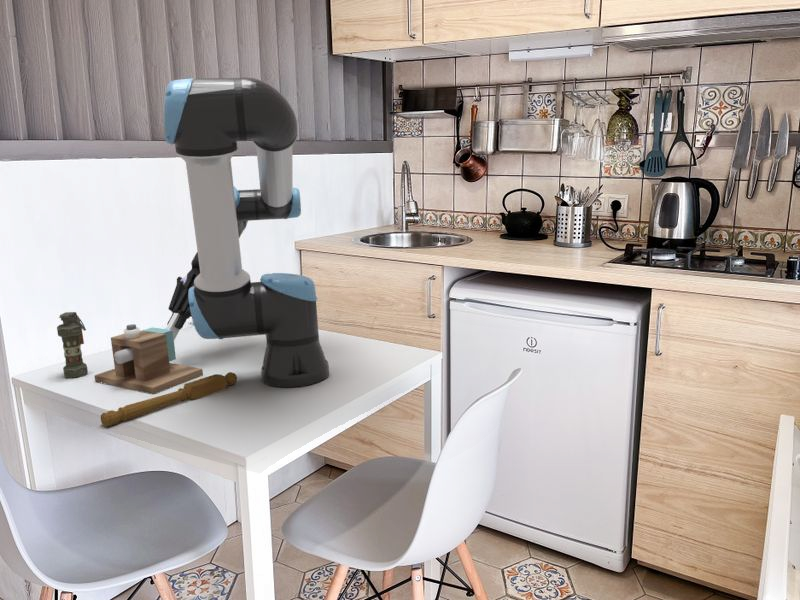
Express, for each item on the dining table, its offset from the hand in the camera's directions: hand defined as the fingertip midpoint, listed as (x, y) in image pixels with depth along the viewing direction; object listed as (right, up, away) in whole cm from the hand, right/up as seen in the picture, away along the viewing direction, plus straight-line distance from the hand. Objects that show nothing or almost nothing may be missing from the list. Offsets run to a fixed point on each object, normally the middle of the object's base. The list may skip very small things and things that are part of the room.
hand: (167, 339), depth 159 cm
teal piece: (-3, -6, -6) cm, 9 cm away
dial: (-5, +1, -9) cm, 10 cm away
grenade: (-22, -9, +2) cm, 23 cm away
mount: (-3, -9, -4) cm, 10 cm away
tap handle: (+9, -12, -20) cm, 26 cm away
